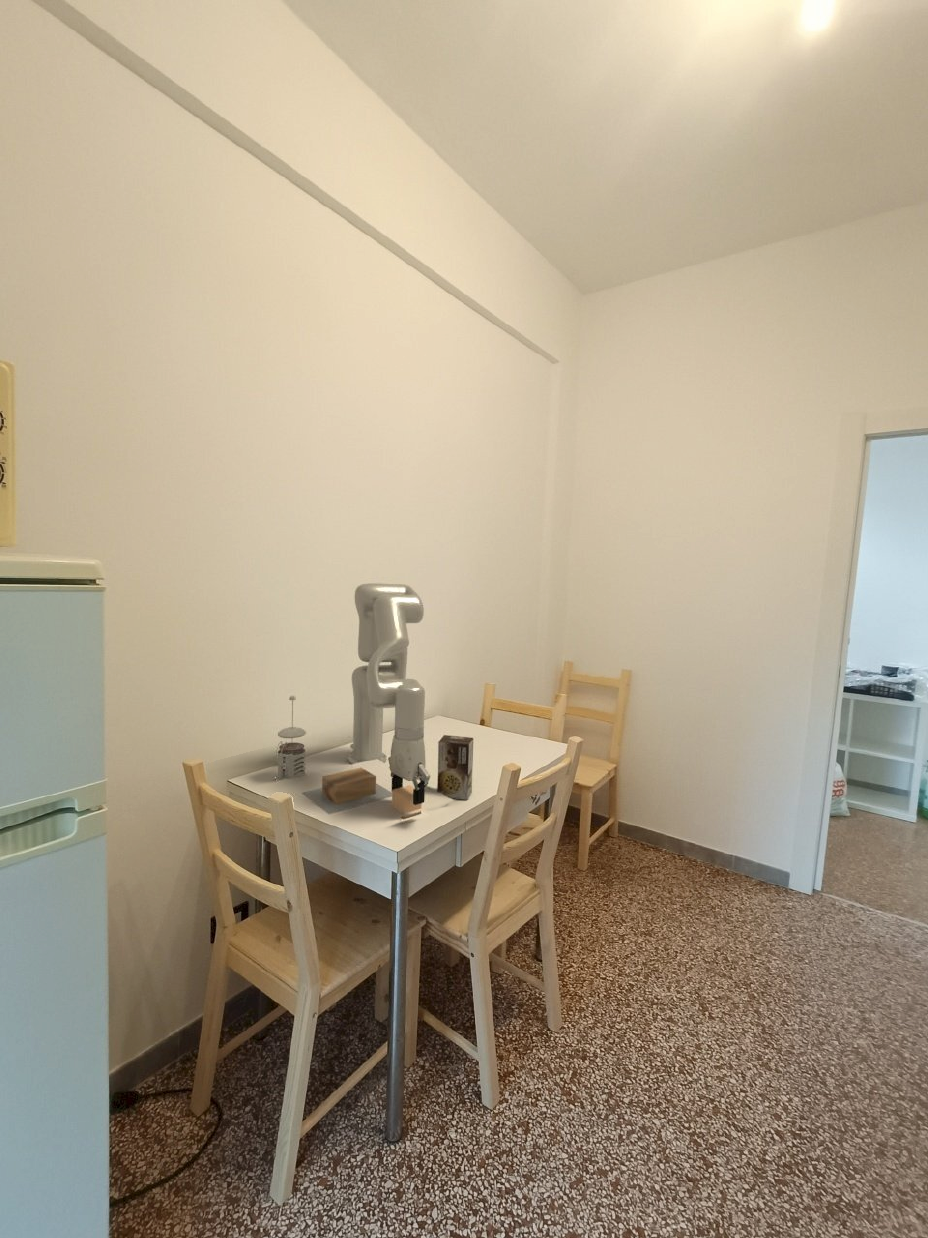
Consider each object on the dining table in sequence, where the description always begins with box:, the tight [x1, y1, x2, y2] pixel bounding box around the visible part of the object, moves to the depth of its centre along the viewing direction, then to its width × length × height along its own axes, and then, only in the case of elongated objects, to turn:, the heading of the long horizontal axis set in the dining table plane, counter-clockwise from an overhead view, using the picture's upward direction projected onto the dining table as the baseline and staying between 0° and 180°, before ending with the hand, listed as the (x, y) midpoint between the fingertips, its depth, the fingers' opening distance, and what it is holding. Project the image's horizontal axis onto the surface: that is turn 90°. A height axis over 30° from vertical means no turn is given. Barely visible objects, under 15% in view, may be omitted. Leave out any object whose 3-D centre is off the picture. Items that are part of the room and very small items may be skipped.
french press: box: [274, 695, 307, 782], centre depth 161 cm, size 10×12×25 cm
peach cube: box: [391, 784, 423, 820], centre depth 142 cm, size 6×6×6 cm
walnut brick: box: [321, 767, 377, 804], centre depth 149 cm, size 8×12×5 cm, turn 131°
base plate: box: [301, 783, 392, 815], centre depth 149 cm, size 16×20×2 cm
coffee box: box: [436, 734, 474, 800], centre depth 155 cm, size 9×6×16 cm
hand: (407, 797), depth 141 cm, fingers open, 9 cm apart
